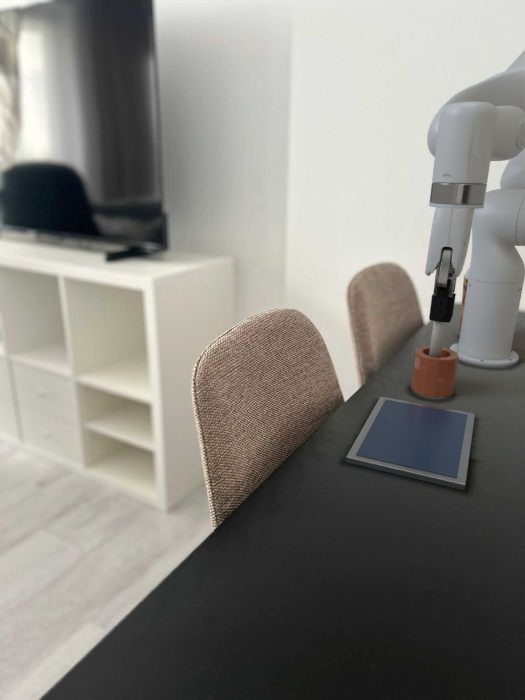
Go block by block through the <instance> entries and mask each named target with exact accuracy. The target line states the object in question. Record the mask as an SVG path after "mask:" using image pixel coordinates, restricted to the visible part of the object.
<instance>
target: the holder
mask: <svg viewBox="0 0 525 700" xmlns="http://www.w3.org/2000/svg"><path fill="white" fill-rule="evenodd" d="M429 351H430V345H424V346H419V347H417V348H416V349H415V350H414V355H413V364H412V365H413V366H412V373H411V381H410V383H411V384H410V388H411V390H412V391H413V392H415V393H416V394H418V395H421V396H425V397H430V398H446V397H450V396H452V395H453V394H454V392H455V384H456V377H457V373H458V372H457V371H458V364H459V359H458V358H459V355H458V353H457V352H455V351H453V350H451V349H450V348H447V347H444V346H442V351H441V357H432V356H429Z"/></svg>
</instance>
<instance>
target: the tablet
mask: <svg viewBox="0 0 525 700" xmlns="http://www.w3.org/2000/svg"><path fill="white" fill-rule="evenodd" d="M475 417H476V413H473V412H468V411H463V410H457V409H451V408H445V407H439V406H436V405H435V406H434V405H429V404H424V403H418V402H412V401H406V400H401V399H396V398H390V397H385V396H380V397H379V398H378V400H377V402H376V404H375V405H374V407H373V409H372V411H371V412H370V414H369V416H368V418H367V419H366V421H365V423H364V424H363V427H362V428H361V429H360V432H359V434H358V435H357V437H356V439H355V440H354V442H353V444H352V446H351V448H350V449H349V451H348V453H347V455H346V456H345V463H347V464H352V465H354V466H355V465H356V466H359V467H364V468H368V469H372V470H376V471H380V472H384V473H388V474H393V475H397V476H402V477H406V478H410V479H414V480H419V481H423V482H427V483H430V484H435V485H439V486H443V487H448V488H451V489H452V488H453V489H457V490H460V491H465V490H466V484H467V477H468V469H469V463H470V462H469V461H470V454H471V448H472V447H471V446H472V441H473V440H472V439H473V433H474V426H475Z"/></svg>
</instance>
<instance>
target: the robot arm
mask: <svg viewBox="0 0 525 700" xmlns="http://www.w3.org/2000/svg"><path fill="white" fill-rule="evenodd" d="M426 142H427V149H428V151H429V153H430V154H431V155H432V157H433V158H434V160H433V169H432V179H431V186H430V194H429V203H428V206H429V207H431V208H435V209H434V214H433V218H432V225H431V229H430V230H431V231H430V236H429V242H428V250H427V256H426V263H425V268H424V269H425V270H424V274H425V275H426V276H428V277H429V276H431V275H432V274H434V272H435V275H434V285H433V292H432V294H431V300H430V308H429V316H428V319H429V321H431V322H434V321H438V322H446V324H449V323H451V321H452V318H453V317H454V310H455V309H454V308H455V304H456V303H455V301H456V295H457V294H456V293H455V292H456V285H457V279H458V277H460V276H461V274H462V272H463V270H464V266H465V262H466V258H467V254H468V250H469V245H470V239H471V254H470V261H469V262H470V264H469V268H470V270H469V277H468V283H467V290H466V297H465V304H464V311H463V318H462V324H461V331H460V330H459V339H458V342H455V343H453V344H451V345H450V347H449V349H451V350H453V351H455V352H457V353H458V355H459V358H458V360H461V361H464V362H467V363H471V364H475V365H481V366H491V367H505V366H511V365H515V364H517V363H519V360H520V359H519V358H520V356H519V354H518V353H517V352H516V351H514V350H513V349H512V347H513V342H514V337H515V331H516V327H517V320H518V316H519V310H520V303H521V299H522V294H523V289H524V288H523V287H524V283H525V263H524V260H523V258H522V256H521V255H520V253H519V251H518V250H517V249H518V248H517V247H525V49H524V50H523V51H522V52H521V53H520V54H519V55H518V57H517V58H516V59H514V61H513V62H512V63H511V64H510V65H509V66H508V68H507V69H505V70H504V71H502V72H499V73H497V74H495V75H492V76H491V77H488V78H485V79H484V80H481V81H479V82H476V83H474V84H472V85H469V86H468V87H466V88H464V89H462V90H460V91H458V92H457V93H455V94H454V95H453V96H451V97H450V98H449V99H448V100H447V101H446V102H445V103H444V104H443V105H442V106H441V107H440V108H439V109H438V111H437V113H435V114H434V117H433V118H432V120H431V122H430V124H429V128H428V131H427V136H426ZM502 161H507V163H506V164H505V166H504V169H503V172H502V174H501V178H500V181H499V187H500V188H497V189H491V190H488V191H487V187H488V180H489V173H490V167H491V162H502Z"/></svg>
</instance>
